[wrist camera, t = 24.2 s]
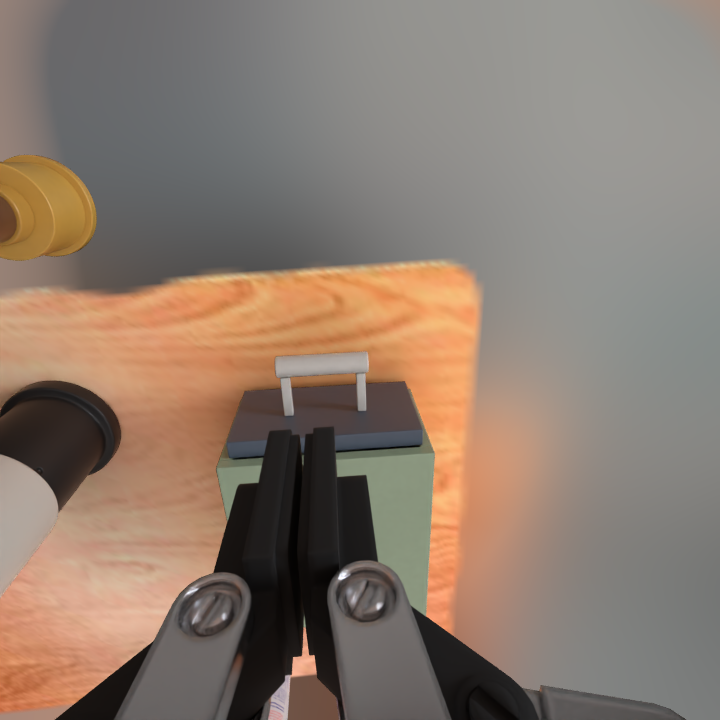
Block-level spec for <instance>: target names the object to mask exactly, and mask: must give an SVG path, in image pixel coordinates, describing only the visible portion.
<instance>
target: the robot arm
mask: <svg viewBox="0 0 720 720" xmlns="http://www.w3.org/2000/svg"><path fill="white" fill-rule="evenodd" d="M304 617H305V625H306V633H307V641H308V649H309V655H315V662H316V670H317V678H318V679H319V680H320V681H321V682H322V683H323V684H324V685H325V686H326V687H327V688H328V689H329V690H330V691H331V692H332V693H333V694H334V695H335V696H336V701H337V709H338V715H339V720H686V719H685V718H683V717H682V716H680V715H678V714H677V713H675V712H674V711H672V710H671V709H669V708H666V707H663V706H660V705H657V704H654V703H648V702H642V701H635V700H629V699H623V698H616V697H611V696H604V695H597V694H592V693H586V692H579V691H572V690H567V689H560V688H555V687H548V686H542V685H541V686H540V690H539V691H535V690H530V689H524V688H521V687H520V686H519V685H518V684H517V683H516V682H515V681H514V680H513V679H512V678H511V677H509V676H508V675H506V674H505V673H504V672H502V671H501V670H499V669H498V668H497V667H495V666H494V665H493V664H491V663H490V662H488V661H487V660H485V659H484V658H483V657H481V656H480V655H479V654H477V653H476V652H474V651H473V650H472V649H470V648H469V647H468V646H466V645H465V644H463V643H462V642H461V641H459V640H458V639H456V638H455V637H454V636H452V635H451V634H450V633H448V632H447V631H445V630H444V629H443V628H441V627H440V626H439V625H437V624H436V623H434V622H433V621H432V620H430V619H429V618H427V617H426V616H425V615H423V614H422V613H421V612H419V611H418V610H416V609H415V608H414V607H412V606H411V605H410V602H409V600H408V597H407V594H406V591H405V589H404V586H403V583H402V582H401V580H400V578H399V576H398V575H397V574H396V573H395V572H394V571H393V570H392V569H391V568H390V567H388V566H386V565H384V564H382V563H380V562H378V556H377V549H376V542H375V534H374V527H373V519H372V512H371V504H370V497H369V490H368V482H367V476H366V475H356V476H342V477H337V464H336V448H335V432H334V426H331V427H316V428H313V433H309V434H305V447H304V460H303V461H302V452H301V442H300V435H299V434H294V435H292V431H291V429H286V430H271V431H269V434H268V439H267V444H266V448H265V453H264V458H263V462H262V467H261V472H260V477H259V481H258V483H246V484H239V485H238V487H237V490H236V493H235V496H234V500H233V504H232V507H231V511H230V515H229V518H228V522H227V525H226V529H225V533H224V536H223V540H222V544H221V547H220V551H219V554H218V558H217V562H216V565H215V569H214V573H212V574H209V575H206V576H204V577H201V578H199V579H198V580H196V581H194V582H193V583H191V584H189V585H188V586H187V587H186V588H185V589H184V590H183V591H182V592H181V593H180V594H179V595H178V597H177V598H176V600H175V601H174V603H173V604H172V606H171V608H170V610H169V612H168V614H167V616H166V618H165V620H164V622H163V624H162V626H161V628H160V630H159V632H158V634H157V636H156V638H155V640H154V641H153V642H152V643H151V644H149V645H148V646H147V647H146V648H144V649H143V650H142V651H141V652H139V653H138V654H137V655H136V656H134V657H133V658H132V659H131V660H129V661H128V662H127V663H125V664H124V665H123V666H122V667H120V668H119V669H118V670H117V671H115V672H114V673H113V674H112V675H110V676H109V677H108V678H107V679H105V680H104V681H103V682H102V683H100V684H99V685H98V686H97V687H95V688H94V689H93V690H92V691H90V692H89V693H88V694H87V695H85V696H84V697H83V698H82V699H80V700H79V701H78V702H76V703H75V704H74V705H73V706H71V707H70V708H69V709H68V710H66V711H65V712H64V713H63V714H62V715H60V716H59V717H58V718H56V719H55V720H268V717H269V713H270V706H271V696H272V695H273V694H274V693H275V692H276V691H277V690H278V689H279V688H280V686H281V685H282V684H283V683H284V682H285V676H286V675H292V663H293V657H298V656H302V648H303V627H304Z"/></svg>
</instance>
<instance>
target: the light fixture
mask: <svg viewBox="0 0 720 720" xmlns="http://www.w3.org/2000/svg"><path fill="white" fill-rule="evenodd" d="M120 440H121V430H120V425H119V422H118V420H117V418H116V416H115V414H114V412H113V411H112V410H111V408H110V407H109V406H108V405H107V404H106V403H105V402H104V401H103V400H102V399H101V398H100V397H98V396H97V395H95V394H94V393H92V392H91V391H89V390H87V389H85V388H83V387H80V386H78V385H75V384H71V383H67V382H61V381H43V382H38V383H34V384H31V385H29V386H27V387H25V388H23V389H22V390H20V391H19V392H17V393H16V394H15V395H13V396H12V397H11V398H10V399H9V400H8V401H7V402H6V403H5V404H4V406H3V407H2V409H1V412H0V598H1V596H2V595H3V594H4V593H5V591H6V590H7V589H8V587H9V586H10V585H11V583H12V582H13V581H14V579H15V578H16V577H17V575H18V574H19V573H20V571H21V570H22V569H23V567H24V566H25V565H26V563H27V562H28V561H29V559H30V558H31V557H32V555H33V554H34V553H35V551H36V550H37V549H38V547H39V546H40V545H41V544H42V542H43V541H44V540H45V538H46V537H47V536H48V534H49V533H50V532H51V530H52V529H53V527H54V526H55V523H56V521H57V518H58V513H59V512H60V510H61V509H62V508H63V506H64V505H65V504H66V502H67V501H68V500H69V499H70V497H71V496H72V495H73V493H74V492H75V491H76V490H77V488H78V487H79V486H80V484H81V483H82V482H83V480H84V479H85V478H86V477H87V475H91V474H93V473H95V472H97V471H99V470H100V469H102V468H103V467H104V466H105V465H107V463H108V462H109V461H110V460H111V458H112V457H113V456H114V454H115V453H116V451H117V449H118V447H119V444H120Z"/></svg>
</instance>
